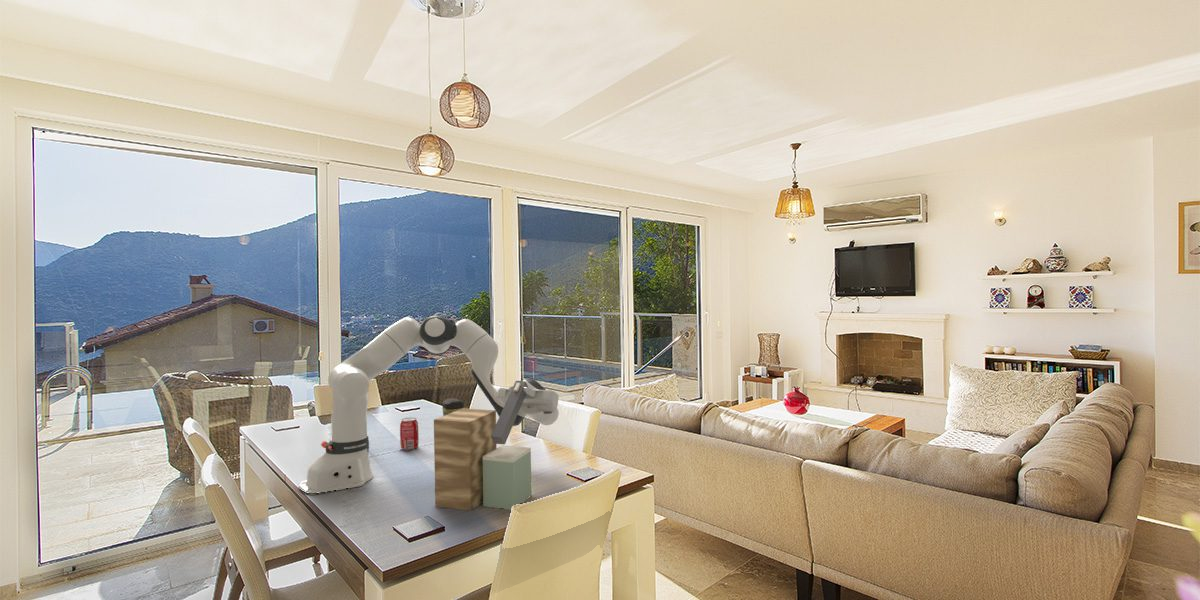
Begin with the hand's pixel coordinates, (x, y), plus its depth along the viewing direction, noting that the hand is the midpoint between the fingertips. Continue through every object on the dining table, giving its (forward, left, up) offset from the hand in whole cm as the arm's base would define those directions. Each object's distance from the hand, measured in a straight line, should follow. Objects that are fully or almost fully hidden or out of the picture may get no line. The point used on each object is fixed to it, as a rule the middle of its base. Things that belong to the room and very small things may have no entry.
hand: (518, 388), depth 178 cm
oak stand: (-16, +5, -33) cm, 37 cm away
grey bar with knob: (-4, -2, -7) cm, 8 cm away
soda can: (-7, +70, -33) cm, 78 cm away
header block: (-8, -5, -33) cm, 34 cm away
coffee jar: (+10, +65, -33) cm, 73 cm away
